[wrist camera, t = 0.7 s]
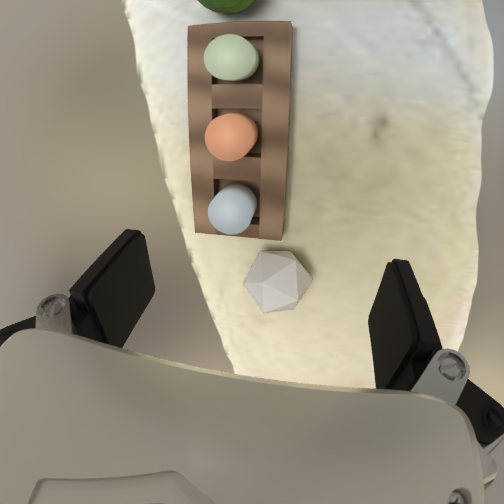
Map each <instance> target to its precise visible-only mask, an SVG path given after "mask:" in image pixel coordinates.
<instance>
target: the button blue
mask: <svg viewBox="0 0 504 504" xmlns="http://www.w3.org/2000/svg"><path fill="white" fill-rule="evenodd" d="M256 206H257V200H256V197H255V194H254V193H253V191H252V190H251V189H250V188H249V187H247V186H246V185H243V184H240V183H230V184H227V185H226V186H224V187H223V188H222V189H221V190H220V191H219V192H218V194H217V195H216V196H215V197H214V199H213V200H212V201H211V203H210V204H209V207H208V217H209V220H210V222H211V224H212V225H213V226H214V227H215V228H216V229H217V230H218V231H220V232H222V233H225V234H231V235H233V234H238V233H241V232H243V231H244V230H245V229H246V228H247V227H248V226H249V224H250V222H251V219H252V217H253V214H254V212H255V210H256Z"/></svg>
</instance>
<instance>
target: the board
mask: <svg viewBox="0 0 504 504" xmlns="http://www.w3.org/2000/svg"><path fill="white" fill-rule="evenodd" d="M225 34H234V35H238V36H241V37H243V38H244V39H246V40H247V41H248V42H250V43H251V44H252V45H253V46H254V47H255V48H256V49H257V51H258V53H259V57H260V61H259V66H258V68H257V70H256V71H255V73H254V74H253V75H251V76H250V77H249V78H247V79H244V80H240V81H232V80H222V79H219V78H216V77H214V76H213V75H212V74H210V73H209V71H208V70H207V69H206V67H205V64H204V53H205V50H206V48H207V46H208V45H209V43H210V42H211V41H212V40H214V39H215V38H217V37H219V36H221V35H225ZM291 59H292V24H291V21H241V22H223V23H211V24H202V25H193V26H188V119H189V145H190V165H191V182H192V198H193V211H194V224H195V233H206V234H217V235H227V236H238V237H249V238H259V239H269V240H279V241H281V240H282V234H283V226H284V211H285V196H286V179H287V161H288V141H289V119H290V93H291ZM230 112H242V113H245V114H247V115H249V116H250V117H251V118H252V119H253V120H254V121H255V123H256V125H257V128H258V139H257V141H256V143H255V145H254V146H253V147H252V148H251V149H250V151H249V152H248V153H247V154H246V155H245V156H244V157H242V158H241V159H238V160H236V161H223V160H220V159H218V158H216V157H215V156H213V155H212V154H211V153H210V152H209V150H208V148H207V146H206V143H205V132H206V129H207V126H208V125H209V123H210V122H211V121H212V120H213V119H215V118H217V117H219V116H221V115H224V114H227V113H230ZM230 183H240V184H243V185H246V186H247V187H249V188H250V189H251V190H252V191H253V193H254V194H255V197H256V200H257V206H256V210H255V212H254V214H253V217H252V219H251V222H250V224H249V226H248V227H247V228H246V229H245V230H244V231H243V232H241V233H238V234H233V235H231V234H225V233H222V232H220V231H218V230H217V229H216V228H215V227H214V226H213V225H212V224H211V222H210V220H209V217H208V207H209V204H210V203H211V201H212V200H213V199H214V197H215V196H216V195H217V194H218V192H219V191H220V190H221V189H222V188H223V187H224V186H226V185H227V184H230Z"/></svg>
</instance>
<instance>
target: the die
mask: <svg viewBox="0 0 504 504" xmlns="http://www.w3.org/2000/svg"><path fill="white" fill-rule="evenodd" d="M312 280H313V279H312V277H311V276H310V275H309V274H308V272H307V271H306V270H305V268H304V267H303V266H302V265H301V263H300V262H299V261H298V260H297V258H296V257H295V256H294V254H293V253H292V252H291V251H260V253H259V254H258V256H257V258H256V260H255V262H254V263H253V265H252V267H251V269H250V270H249V272H248V274H247V276H246V277H245V279H244V281H243V285H244V286H245V288H246V289H247V290H248V292H249V293H250V295H251V296H252V297H253V299H254V300H255V302H256V303H257V305H258V306H259V307H260V309H261V310H262V312H263V313H269V312H277V311H284V310H292V309H294V308H295V307H296V305H297V304H298V302H299V300H300V299H301V297H302V296H303V294H304V292H305V291H306V289H307V288H308V286H309V284H310V283H311V281H312Z"/></svg>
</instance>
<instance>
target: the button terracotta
mask: <svg viewBox="0 0 504 504" xmlns="http://www.w3.org/2000/svg"><path fill="white" fill-rule="evenodd" d="M257 139H258V128H257V125H256V123H255V121H254V120H253V119H252V118H251V117H250V116H249V115H247V114H245V113H242V112H230V113H227V114H224V115H221V116H219V117H217V118H215V119H213V120H212V121H211V122H210V123H209V125H208V126H207V129H206V132H205V143H206V146H207V148H208V150H209V152H210V153H211V154H212V155H213V156H215V157H216V158H218V159H220V160H223V161H236V160H238V159H241V158H242V157H244V156H245V155H246V154H247V153H248V152H249V151H250V149H251V148H252V147H253V146H254V145H255V143H256V141H257Z"/></svg>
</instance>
